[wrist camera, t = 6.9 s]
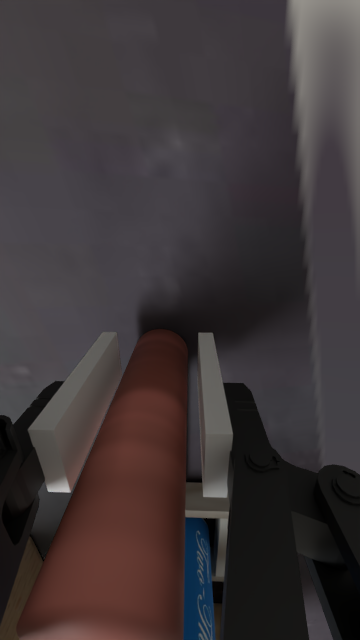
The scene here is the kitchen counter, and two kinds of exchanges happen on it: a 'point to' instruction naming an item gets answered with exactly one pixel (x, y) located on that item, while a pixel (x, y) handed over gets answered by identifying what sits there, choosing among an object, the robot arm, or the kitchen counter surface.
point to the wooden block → (21, 590)
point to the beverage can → (198, 582)
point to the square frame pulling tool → (129, 516)
